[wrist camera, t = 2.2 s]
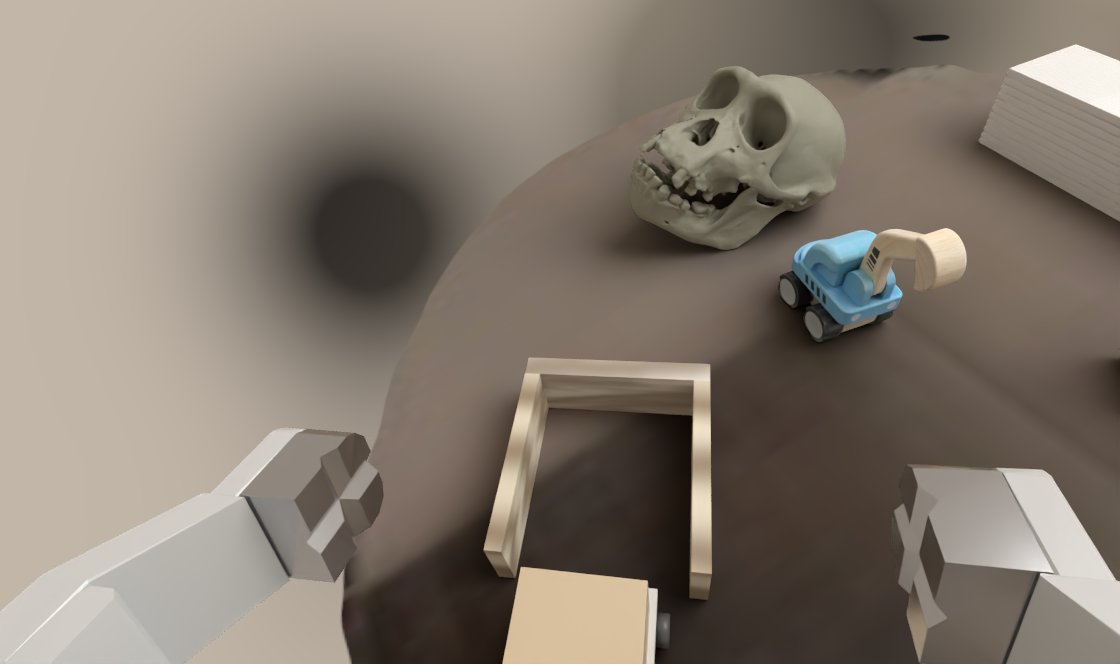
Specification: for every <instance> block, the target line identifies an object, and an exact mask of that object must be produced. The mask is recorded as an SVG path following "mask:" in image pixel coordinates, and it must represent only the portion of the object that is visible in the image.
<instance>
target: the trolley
mask: <svg viewBox="0 0 1120 664" xmlns="http://www.w3.org/2000/svg"><path fill="white" fill-rule="evenodd" d="M657 601H658V590H657V589H653V588H648V581H645V580H636V579H627V578H618V577H609V576H599V575H590V574H581V573H572V572H563V571H554V570H544V569H535V568H526V567H521V570H520V576H519V581H518V586H517V591H516V596H515V601H514V607H513V612H512V617H511V622H510V627H509V633H508V638H507V643H506V648H505V653H504V658H503V664H655V643H656V648H664V649H669V638H670V614H668V613H660V612H657Z"/></svg>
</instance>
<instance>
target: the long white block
mask: <svg viewBox="0 0 1120 664" xmlns="http://www.w3.org/2000/svg"><path fill="white" fill-rule="evenodd" d="M1007 75H1008V76H1006V77H1005V80H1004V84H1002V87H1001V91H999V94H998V98H996V101H995V105H994V106H993V108H992V110H993V111H992V112H991V113H990V115H989V117H990V118H988V120H987V122H986V123H987V124H986V125H985V127H984V129H983V130H985V131H982V134H981V136H982V137H980V138H979V141H978V142H979V143H981V144H983V145H985V146H986V147H988V148H990V149H992V150H993V151H995V152H997V153H999V154H1001V155H1002V156H1004V157H1006V158H1008V159H1009V160H1011V161H1013V162H1015V163H1017V164H1018V165H1020V166H1022V167H1024V168H1025V169H1027V170H1029V171H1031V172H1033V173H1034V174H1036V175H1038V176H1040V177H1041V178H1043V179H1045V180H1047V181H1049V182H1050V183H1052V184H1054V185H1056V186H1057V187H1059V188H1061V189H1063V190H1065V191H1066V192H1068V193H1070V194H1072V195H1073V196H1075V197H1077V198H1079V199H1081V200H1082V201H1084V202H1086V203H1088V204H1089V205H1091V206H1093V207H1095V208H1096V209H1098V210H1100V211H1102V212H1104V213H1105V214H1107V215H1109V216H1111V217H1112V218H1114V219H1116V220H1118V221H1120V61H1118V60H1116V59H1113V58H1110V57H1107V56H1105V55H1102V54H1100V53H1097V52H1095V51H1092V50H1089V49H1087V48H1084V47H1082V46H1079V45H1073V46H1070V47H1067V48H1065V49H1062V50H1059V51H1056V52H1053V53H1051V54H1048V55H1045V56H1042V57H1039V58H1037V59H1034V60H1031V61H1028V62H1026V63H1023V64H1020V65H1017V66H1014V67H1012V68H1009V70H1008V73H1007Z"/></svg>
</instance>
